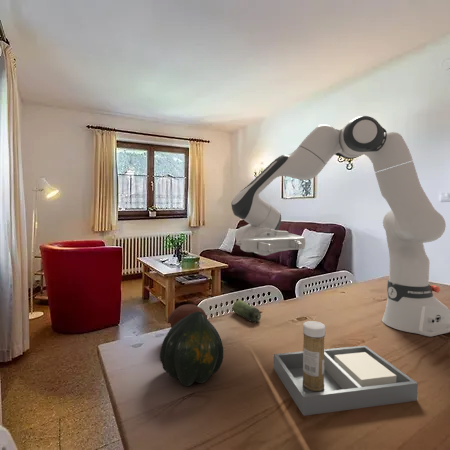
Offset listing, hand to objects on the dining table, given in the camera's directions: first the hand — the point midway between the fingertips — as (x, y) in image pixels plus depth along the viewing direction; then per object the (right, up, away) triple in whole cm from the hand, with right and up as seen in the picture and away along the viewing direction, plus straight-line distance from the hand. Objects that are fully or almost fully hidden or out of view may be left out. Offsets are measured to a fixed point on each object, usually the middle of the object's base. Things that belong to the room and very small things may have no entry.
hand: (286, 246), depth 82 cm
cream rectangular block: (+13, -28, -17) cm, 35 cm away
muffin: (-28, -28, +5) cm, 40 cm away
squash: (-25, -29, -13) cm, 40 cm away
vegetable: (-9, -27, +22) cm, 36 cm away
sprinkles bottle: (+2, -28, -19) cm, 34 cm away
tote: (+8, -29, -18) cm, 35 cm away
